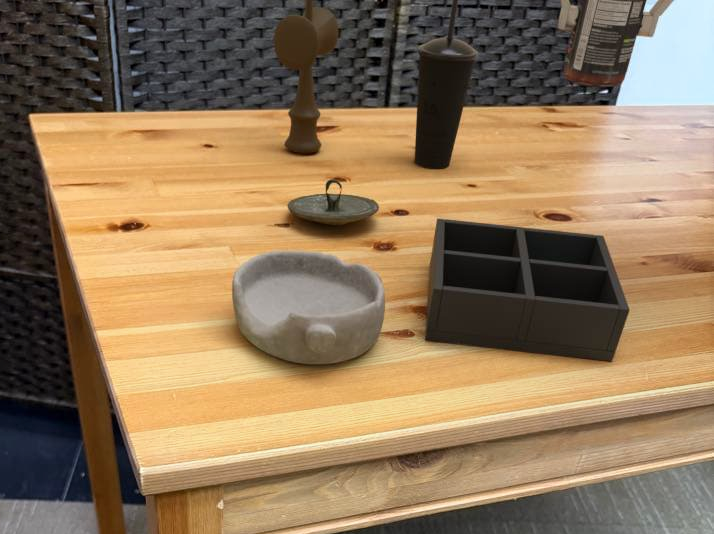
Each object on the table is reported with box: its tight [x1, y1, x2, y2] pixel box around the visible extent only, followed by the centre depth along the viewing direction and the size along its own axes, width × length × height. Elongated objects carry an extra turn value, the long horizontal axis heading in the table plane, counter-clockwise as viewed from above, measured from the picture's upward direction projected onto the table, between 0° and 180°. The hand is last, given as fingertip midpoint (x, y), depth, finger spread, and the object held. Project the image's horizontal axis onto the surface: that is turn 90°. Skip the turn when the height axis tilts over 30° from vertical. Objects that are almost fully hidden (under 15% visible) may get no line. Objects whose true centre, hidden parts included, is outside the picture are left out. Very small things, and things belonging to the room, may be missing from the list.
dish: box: [231, 250, 386, 365], centre depth 72 cm, size 14×14×5 cm
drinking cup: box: [414, 0, 479, 170], centre depth 105 cm, size 8×8×20 cm
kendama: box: [273, 0, 340, 154], centre depth 107 cm, size 6×10×20 cm, turn 160°
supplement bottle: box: [563, 0, 648, 88], centre depth 76 cm, size 6×6×11 cm
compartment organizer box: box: [424, 218, 630, 362], centre depth 78 cm, size 17×17×5 cm
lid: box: [286, 178, 380, 227], centre depth 93 cm, size 11×10×5 cm
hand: (605, 32), depth 77 cm, fingers closed on supplement bottle, 6 cm apart
